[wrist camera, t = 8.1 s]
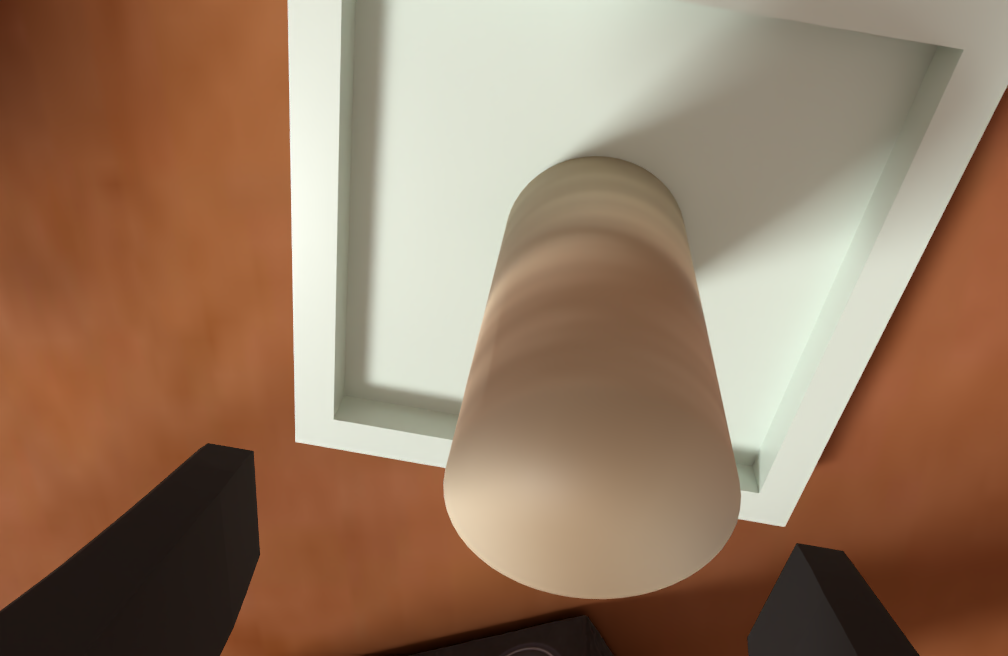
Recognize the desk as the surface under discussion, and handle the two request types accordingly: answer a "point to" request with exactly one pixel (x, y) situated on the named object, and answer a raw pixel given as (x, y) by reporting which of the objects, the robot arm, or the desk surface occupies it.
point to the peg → (593, 396)
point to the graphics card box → (535, 642)
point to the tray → (647, 143)
